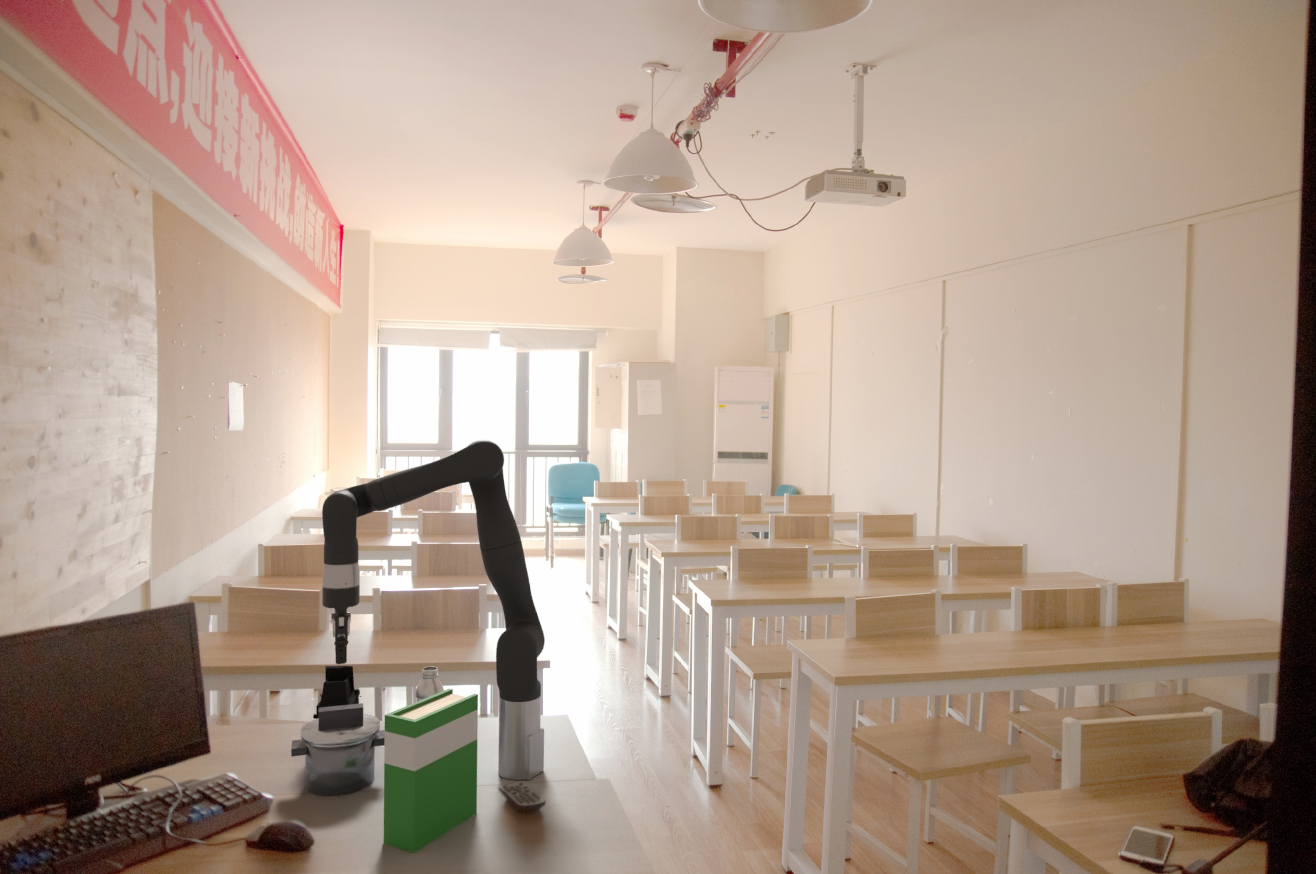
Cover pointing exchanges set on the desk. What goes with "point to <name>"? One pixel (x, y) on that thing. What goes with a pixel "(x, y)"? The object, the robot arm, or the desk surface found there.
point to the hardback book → (429, 769)
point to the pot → (338, 765)
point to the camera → (338, 688)
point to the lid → (340, 726)
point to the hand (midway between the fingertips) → (340, 658)
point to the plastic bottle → (428, 684)
